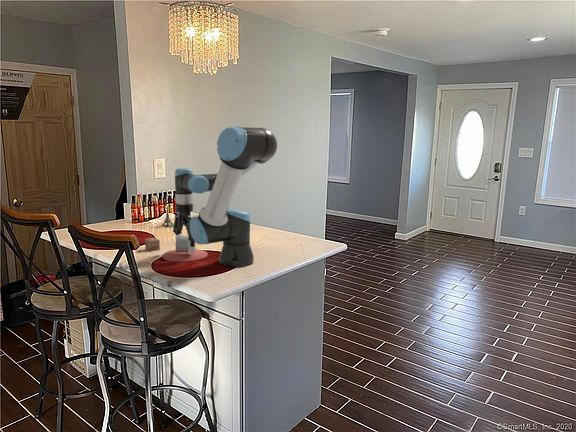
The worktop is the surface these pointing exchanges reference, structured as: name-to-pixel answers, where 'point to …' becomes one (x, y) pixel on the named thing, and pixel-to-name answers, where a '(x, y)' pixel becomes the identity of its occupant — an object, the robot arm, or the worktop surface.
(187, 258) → the placemat
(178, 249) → the light grey block
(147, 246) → the walnut cube
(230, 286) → the worktop surface
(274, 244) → the worktop surface
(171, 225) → the eiffel tower figurine
